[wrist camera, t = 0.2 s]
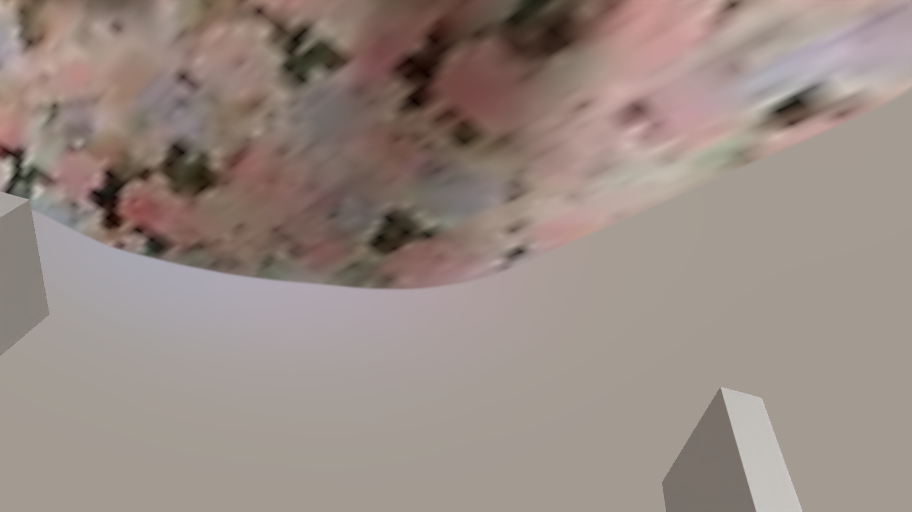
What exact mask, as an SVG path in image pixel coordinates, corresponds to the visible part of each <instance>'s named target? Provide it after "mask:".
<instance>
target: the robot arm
mask: <svg viewBox="0 0 912 512" xmlns="http://www.w3.org/2000/svg"><path fill="white" fill-rule="evenodd" d="M48 315H49V311H48V305H47V299H46V293H45V288H44V282H43V276H42V270H41V264H40V258H39V253H38V247H37V241H36V235H35V229H34V224H33V218H32V212H31V206H30V200H29V199H25V198H22V197H18V196H14V195H10V194H7V193H3V192H0V355H2V354H3V353H4V352H5V351H7V350H8V349H9V348H10V347H11V346H12V345H14V344H15V343H16V342H17V341H18V340H20V339H21V338H22V337H23V336H24V335H25V334H26V333H28V332H29V331H30V330H31V329H32V328H34V327H35V326H36V325H37V324H38V323H39V322H41V321H42V320H43V319H44V318H45V317H47V316H48ZM662 485H663V492H664V499H665V505H666V512H802V509H801V506H800V504H799V501H798V498H797V495H796V492H795V490H794V487H793V484H792V481H791V479H790V476H789V473H788V470H787V467H786V465H785V462H784V459H783V456H782V454H781V451H780V448H779V445H778V442H777V439H776V437H775V434H774V431H773V428H772V426H771V423H770V420H769V417H768V414H767V412H766V409H765V406H764V403H763V400H762V398H759V397H756V396H752V395H748V394H745V393H741V392H737V391H734V390H730V389H726V388H722V387H720V389H719V390H718V392H717V394H716V395H715V397H714V398H713V400H712V402H711V403H710V405H709V407H708V408H707V410H706V411H705V413H704V415H703V416H702V418H701V420H700V421H699V423H698V425H697V426H696V428H695V429H694V431H693V433H692V434H691V436H690V438H689V439H688V441H687V442H686V444H685V446H684V447H683V449H682V451H681V452H680V454H679V455H678V457H677V459H676V461H675V462H674V464H673V465H672V467H671V469H670V470H669V472H668V473H667V475H666V477H665V478H664V480H663V482H662Z"/></svg>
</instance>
